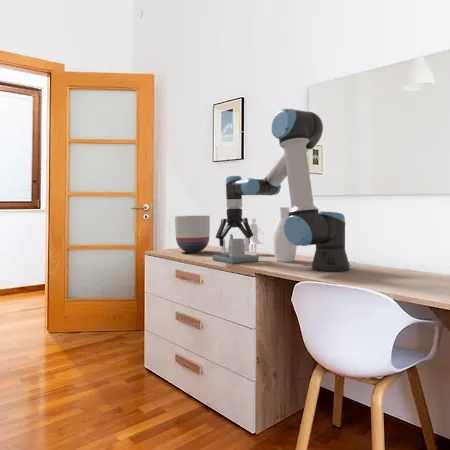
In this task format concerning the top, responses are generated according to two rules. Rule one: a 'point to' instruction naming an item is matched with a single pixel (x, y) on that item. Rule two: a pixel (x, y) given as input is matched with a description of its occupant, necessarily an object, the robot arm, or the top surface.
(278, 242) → the bottle
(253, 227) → the figurine
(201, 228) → the planter
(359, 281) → the top surface
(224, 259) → the tray
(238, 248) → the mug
